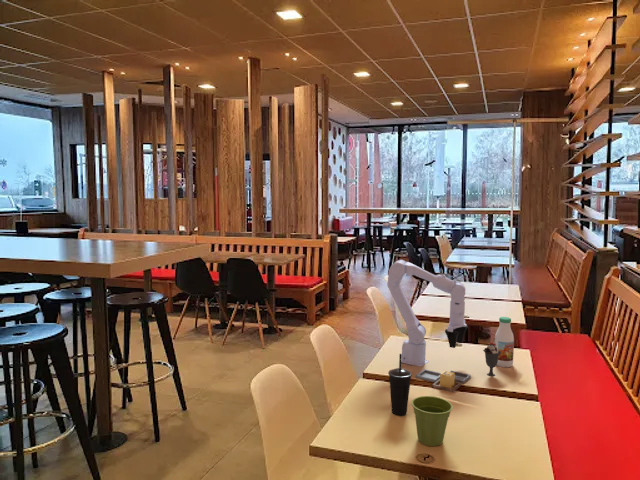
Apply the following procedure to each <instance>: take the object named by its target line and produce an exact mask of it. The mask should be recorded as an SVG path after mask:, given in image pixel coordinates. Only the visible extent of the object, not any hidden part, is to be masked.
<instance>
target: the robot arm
mask: <svg viewBox="0 0 640 480" xmlns="http://www.w3.org/2000/svg"><path fill="white" fill-rule="evenodd" d="M387 275H388V276H387V284H386V285H387V288H388V290H389V292H390V294H391V296H392V298H393V300H394V302H395V304H396V306H397V309H398V311H399V313H400V314H401V317H402V319H403V321H404V322H405V327H406V331H407V334H408V335H407V336H408V337H407V338H408V339H405V340H404V341H403V342H402V346H401V354H402V359H401V364H402V363H403V364H407V365H411V366H417V367H423V366H425V365H426V364H427V363H430V361H429V360H426V354H427V353H426V349H427V348H426V346H427V344H426V343H427V341H426V340H425V336H426V334H427V329H426V327H425V326H424V325H423V324H422V323H421V321H420V320H419V319H418V318H417V317H416V314H415V312H414V311H413V308H412V307H411V304H410V302H409V300H408V299H407V296H406V294H405V292H404V290H403V288H402V285H401V282H402V280H403V277H404V276H406V277H408V276H416V277H418V278H420V279H423V280H425V281H427V282H430V283H431V284H432V285H433V288H435V289H437V290H439V291H442V292H444V293H445V294H450V303H449V322H448V326H447V328H445V329H444V333H445V335H446V337H447V340H448V344H449V345H448V347H449V348H452V349H455V348H456V347H457V343H458V344H462V343H463V340H464V337H465V334H466V332H467V329H468V328H469V326H468V324H467V323H466V319H465V308H466V307H465V306H466V305H465V304H466V301H465V300H466V299H465V298H466V297H465V296H466V287H465V285H464V283H461V281H457V280H455V279H454V280H453V279H451V278H450V277H446V275H445V274H443V273H442V274H434V273H432V272H429V271H427V270H425V269H424V268H421V267H420V266H417V265H416V264H413V263H412V262H408V261H405V260H404V259H398V260H397V261H395V262H394V263H392V264H391V266H390V267H389V270H388V274H387Z"/></svg>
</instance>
